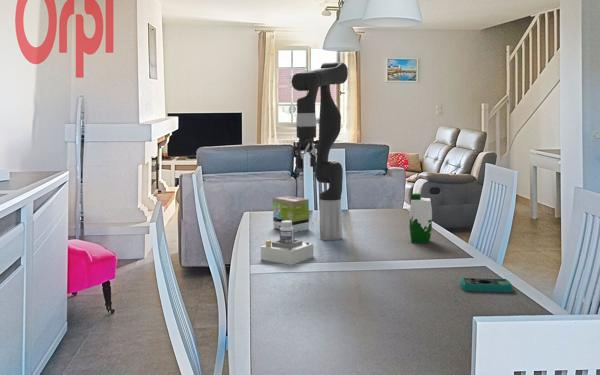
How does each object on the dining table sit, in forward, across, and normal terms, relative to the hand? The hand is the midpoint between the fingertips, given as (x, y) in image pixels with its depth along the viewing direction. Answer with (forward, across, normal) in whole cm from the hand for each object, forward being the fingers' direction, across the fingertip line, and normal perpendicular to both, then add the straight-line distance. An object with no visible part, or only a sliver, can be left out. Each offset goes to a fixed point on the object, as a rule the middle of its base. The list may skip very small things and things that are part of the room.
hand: (306, 167), depth 224 cm
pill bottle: (+28, +12, -1) cm, 31 cm away
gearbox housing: (+33, +12, -1) cm, 35 cm away
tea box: (+33, -34, -33) cm, 58 cm away
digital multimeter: (+34, +9, +73) cm, 81 cm away
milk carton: (+33, -41, +29) cm, 60 cm away
